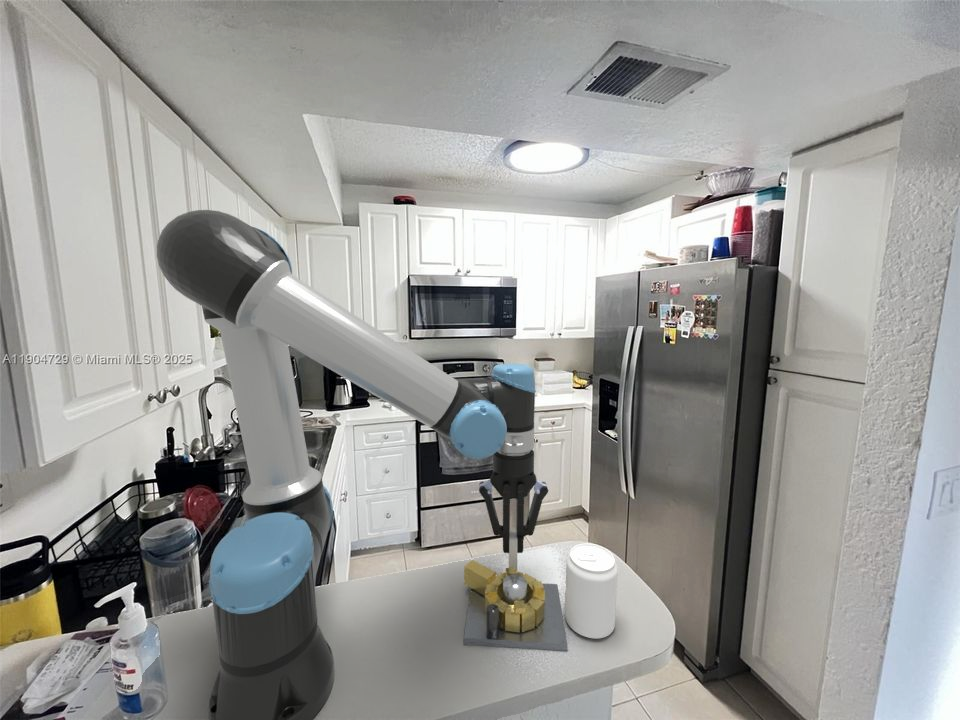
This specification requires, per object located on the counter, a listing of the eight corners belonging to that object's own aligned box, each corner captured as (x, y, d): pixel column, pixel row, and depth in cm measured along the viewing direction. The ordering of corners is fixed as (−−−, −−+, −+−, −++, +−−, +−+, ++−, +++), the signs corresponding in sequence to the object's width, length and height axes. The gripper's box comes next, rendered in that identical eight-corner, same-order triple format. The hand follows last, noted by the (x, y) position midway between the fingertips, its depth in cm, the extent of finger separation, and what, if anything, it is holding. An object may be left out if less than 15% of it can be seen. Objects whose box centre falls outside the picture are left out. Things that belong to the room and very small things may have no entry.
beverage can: (617, 646, 61) (621, 576, 60) (564, 637, 63) (567, 569, 61) (611, 607, 69) (614, 544, 67) (564, 600, 71) (566, 538, 69)
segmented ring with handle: (554, 604, 68) (555, 583, 67) (523, 642, 60) (523, 619, 60) (485, 566, 78) (485, 548, 77) (450, 595, 70) (449, 575, 69)
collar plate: (464, 644, 62) (463, 609, 61) (471, 585, 75) (471, 555, 74) (567, 651, 60) (568, 615, 60) (557, 589, 73) (558, 559, 72)
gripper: (477, 456, 68) (478, 580, 71) (552, 456, 68) (550, 581, 71) (478, 441, 75) (479, 554, 79) (546, 441, 75) (544, 554, 79)
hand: (512, 566), depth 75 cm, fingers closed
